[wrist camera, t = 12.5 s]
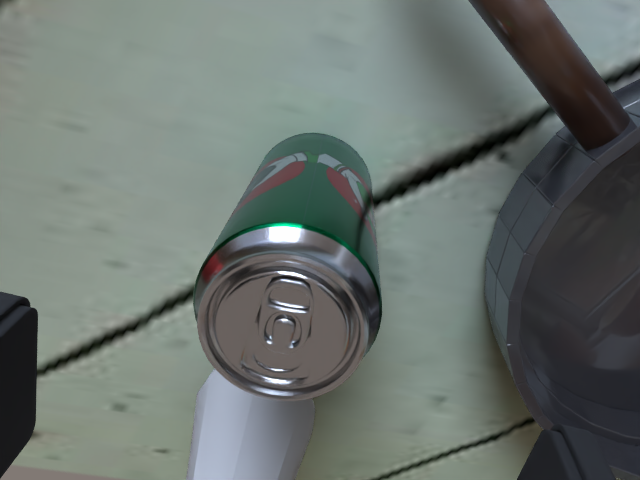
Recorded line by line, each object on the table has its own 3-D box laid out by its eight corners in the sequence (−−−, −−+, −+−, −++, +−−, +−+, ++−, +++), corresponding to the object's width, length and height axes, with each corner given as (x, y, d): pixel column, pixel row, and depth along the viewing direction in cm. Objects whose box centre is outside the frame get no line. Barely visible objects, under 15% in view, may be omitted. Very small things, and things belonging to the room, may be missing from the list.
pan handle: (434, -138, 18) (442, -152, 16) (633, 132, 21) (656, 143, 19) (391, -93, 19) (395, -103, 17) (591, 163, 22) (610, 177, 20)
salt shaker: (243, 314, 28) (159, 549, 16) (339, 370, 29) (327, 632, 17) (188, 392, 30) (76, 651, 18) (279, 442, 31) (231, 720, 19)
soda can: (250, 227, 26) (174, 394, 15) (266, 119, 24) (191, 220, 13) (358, 248, 26) (360, 429, 15) (382, 142, 24) (405, 261, 13)
